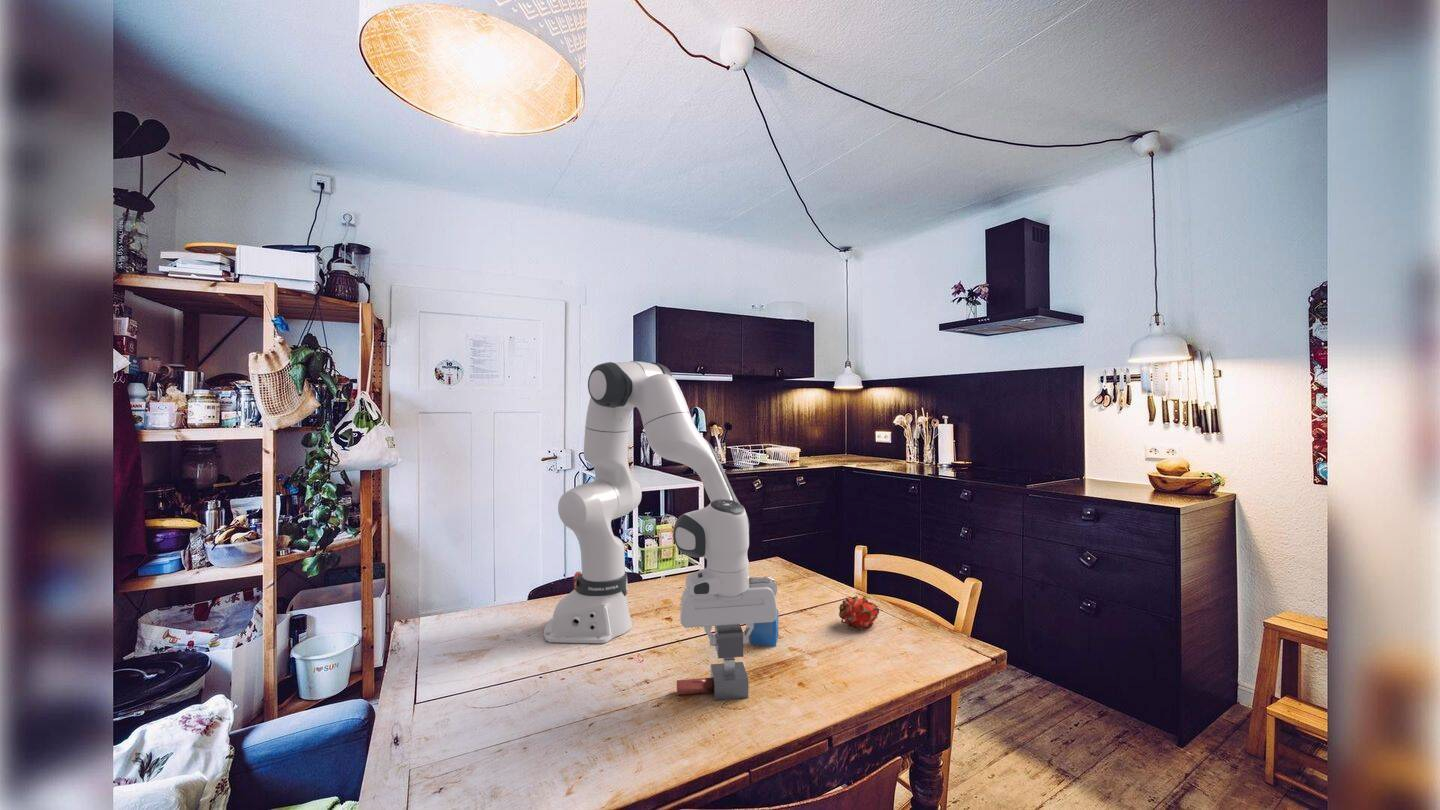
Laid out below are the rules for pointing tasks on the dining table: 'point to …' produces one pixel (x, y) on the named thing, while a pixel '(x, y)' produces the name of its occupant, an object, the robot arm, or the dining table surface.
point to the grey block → (729, 641)
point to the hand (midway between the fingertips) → (728, 643)
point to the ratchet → (719, 681)
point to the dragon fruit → (858, 612)
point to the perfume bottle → (765, 633)
